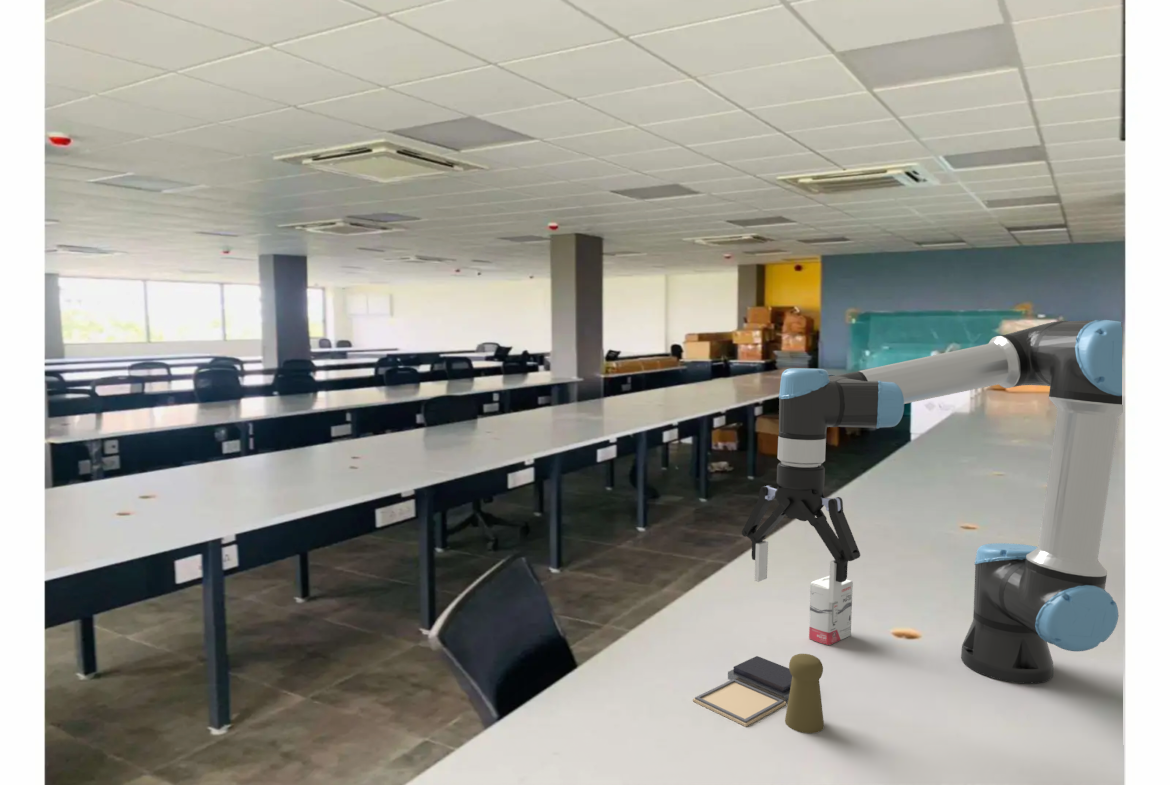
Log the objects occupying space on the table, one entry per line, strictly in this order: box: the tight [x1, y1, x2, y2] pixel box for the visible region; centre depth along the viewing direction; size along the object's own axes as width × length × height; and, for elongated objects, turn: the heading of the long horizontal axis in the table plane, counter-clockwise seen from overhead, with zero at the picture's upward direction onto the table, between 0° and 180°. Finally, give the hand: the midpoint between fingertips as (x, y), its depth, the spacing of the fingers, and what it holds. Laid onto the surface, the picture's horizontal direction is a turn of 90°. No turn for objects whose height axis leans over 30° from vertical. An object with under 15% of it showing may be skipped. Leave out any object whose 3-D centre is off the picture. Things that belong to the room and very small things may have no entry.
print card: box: [692, 679, 787, 727], centre depth 129 cm, size 11×11×1 cm
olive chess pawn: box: [784, 653, 825, 734], centre depth 122 cm, size 6×6×11 cm
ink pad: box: [727, 655, 792, 703], centre depth 136 cm, size 12×8×2 cm
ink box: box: [808, 575, 854, 646], centre depth 156 cm, size 9×5×12 cm, turn 129°
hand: (796, 589), depth 127 cm, fingers open, 13 cm apart
